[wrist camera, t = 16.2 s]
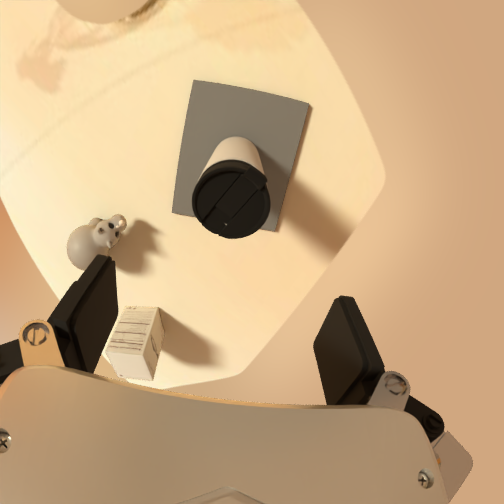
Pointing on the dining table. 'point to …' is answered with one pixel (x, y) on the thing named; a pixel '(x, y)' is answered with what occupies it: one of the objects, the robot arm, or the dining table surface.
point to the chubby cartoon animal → (94, 240)
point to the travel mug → (232, 190)
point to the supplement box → (136, 343)
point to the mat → (239, 124)
